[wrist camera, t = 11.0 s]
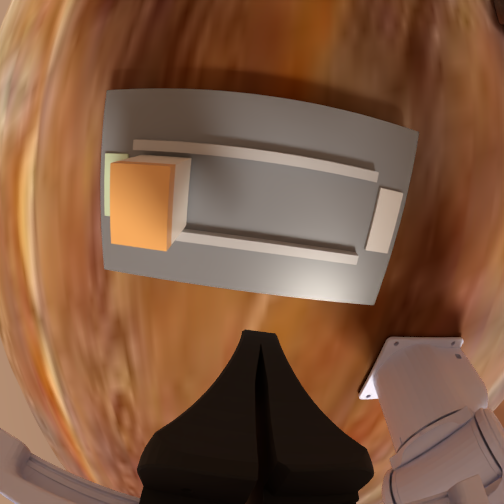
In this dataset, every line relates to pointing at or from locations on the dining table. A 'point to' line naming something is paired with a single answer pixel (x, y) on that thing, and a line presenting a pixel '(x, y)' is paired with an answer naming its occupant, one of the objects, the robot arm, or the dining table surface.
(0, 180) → the dining table surface
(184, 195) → the block
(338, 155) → the panel
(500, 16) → the brown animal figurine
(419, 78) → the dining table surface
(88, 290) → the dining table surface
